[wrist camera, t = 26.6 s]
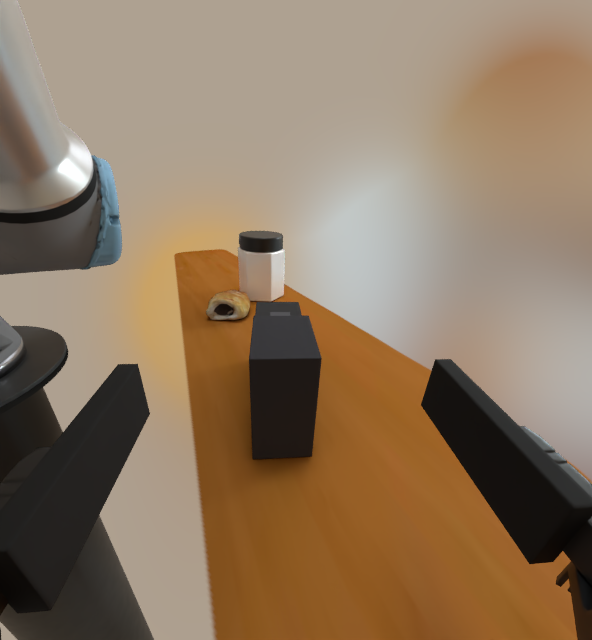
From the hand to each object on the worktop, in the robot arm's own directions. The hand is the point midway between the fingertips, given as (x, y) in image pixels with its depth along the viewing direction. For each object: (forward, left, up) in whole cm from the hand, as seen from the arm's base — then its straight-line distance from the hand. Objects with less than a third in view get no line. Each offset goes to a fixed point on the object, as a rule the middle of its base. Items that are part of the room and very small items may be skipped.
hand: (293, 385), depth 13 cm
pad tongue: (+8, +7, -13) cm, 17 cm away
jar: (+31, +32, -13) cm, 46 cm away
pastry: (+21, +30, -13) cm, 39 cm away
